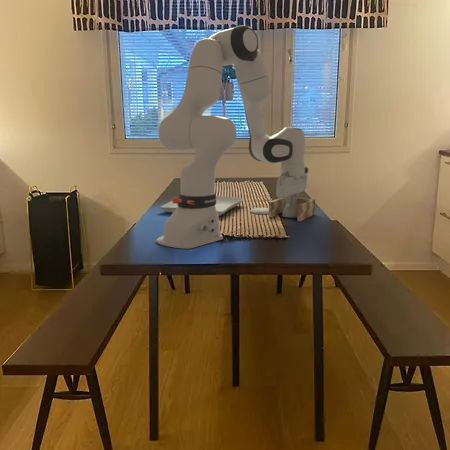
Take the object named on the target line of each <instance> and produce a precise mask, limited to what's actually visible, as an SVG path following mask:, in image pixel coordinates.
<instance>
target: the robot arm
mask: <svg viewBox="0 0 450 450" xmlns="http://www.w3.org/2000/svg"><path fill="white" fill-rule="evenodd" d="M226 66H232V67H233V69H234V71H235V76H236V77H235V78H236V81H237V86H238V89H239V92H240V95H241V99H242V104H243V109H244V115H245V119H246V120H245V121H246V125H247V128H248V129H247V130H248V134H249V142H248V152H249V154H250V156H251V157H252V159H253V160H255V161H258V162H266V163H271V164H276V163H280V176H279V177H278V178H277V181H276V190H275V191H276V192H275V196H276V197H277V199H279V198H284V199H285V202H286V207H291V204H292V202H291V201H290V199H291V196H292V195H295V201H296V202H297V198H299V193H300V194H301V193H302V192H306V189H307V185H308V174H309V167H307V166H306V165H305V159H304V155H305V152H306V139H305V132H304V131H303V129H301V128H297V127H292V126H285V127H284V128H282V130H281V129H280V131H279V132H277V133H275V134H273V135H271V136H270V135H269V134H268V133H267V131H266V127H265V126H266V125H265V121H264V115H263V109H264V108H263V107H264V105H265V103H266V102H267V101H268V100H269V98H270V96H271V92H272V89H271V82H270V76H269V73H268V70H267V66H266V63H265V61H264V58H263V56H262V54H261V51H260V50H259V39H258V36H257V33H256V32H255V30H254V29H253V28H252V27H250V26H249V25H244V24H242V25H236V26H235V27H231V28H228V29H223V30H220V31H217V32H216V33H214V34H211V35H208V36H207V37H204V38H201V39H198V40H197V41H196V42H195V43H194V45H193V48H192V51H191V54H190V58H189V62H188V68H187V74H186V80H185V84H184V89H183V94H182V96H181V99H180V101H179V102H178V104H177V106H176V107H175V108H174V110H172V112H171V113H170V114H169V115H167V116H166V117H164V118H163V119H162V120H161V121H160V123H159V126H158V134H157V135H158V138H159V141H160V142H161V143H162V146H164V147H166V148H169V149H172V150H177V151H193V152H194V151H195V155H194V158H193V160H192V161H191V162H188V163H186V164H184V166H183V167H182V168H181V170H180V176H179V178H180V192H179V195H178V197H177V196H176V197H175V196H174V197H172V199H171V201H172V202H173V203H177V205H178V207H177V208H176V210H175V211H174V212H173V213H171V215H170V216H169V217H168V218H167V220H166V221H165V222H164V225H163V235H161V236H159V237H158V238H156V241H155V242H156V243H157V244H159V245H161V246H166V247H170V248H175V249H187V250H188V249H194V248H198V247H200V246H204V245H207V244H211V243H214V242H215V243H216V242H218V241H220V240H221V241H222V240H223V239H224V236H223V235H222V234H221V226H220V217H219V216H218V213H217V211H216V208H215V205H216V196H217V195H216V194H217V193H216V191H215V190H216V189H215V187H216V186H215V185H216V184H215V182H216V171H217V167H218V163H219V162H220V160H221V158H222V157H223V155H224V154H225V153H226V152H227V151H229V150H230V149H231V148H232V147H233V146H234V144H235V143H236V138H237V128H236V125H235V123H234V122H233V120H232V119H230V118H228V117H225V116H220V115H213V114H212V115H210V114H209V115H207V114H206V115H203V114H204V113H205V112H206V111H207V110H208V109H209V108H211V107H213V106H214V105H216V104H217V102H218V101H219V98H220V93H221V86H222V80H223V71H224V70H223V69H224V67H226Z"/></svg>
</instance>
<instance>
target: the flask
mask: <svg viewBox="0 0 450 450" xmlns="http://www.w3.org/2000/svg"><path fill="white" fill-rule="evenodd" d="M290 201H291V202H292V204H291V207H286V205H285V207H284V210H283V212H282V213H281V217H283V218H289V219H290V218H294V219H295V218H297V216H298V208H297V204H296V201H295V195H292V196H291V199H290Z"/></svg>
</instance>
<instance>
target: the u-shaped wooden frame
mask: <svg viewBox="0 0 450 450" xmlns="http://www.w3.org/2000/svg"><path fill="white" fill-rule="evenodd" d="M296 204H297V208H298V216H297V220H296V221H297V222H302V221H304V220H306V219H308V218H310V217H312V216H314V215H315V208H316V199H314V198H312V199H311V198H303V197H298V198H297V202H296ZM285 205H286V202H285V199H284V198H276V199H273V200H271V201H269V203H268V208H269V214H268V218H273V217H276V216H278V215H280V214H282V212H283V210H284V207H285Z"/></svg>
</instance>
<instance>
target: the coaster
mask: <svg viewBox="0 0 450 450" xmlns="http://www.w3.org/2000/svg"><path fill="white" fill-rule="evenodd" d="M249 211H250V213H251V214H254V215H269V207H255V208H251V209H250V210H249Z"/></svg>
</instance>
